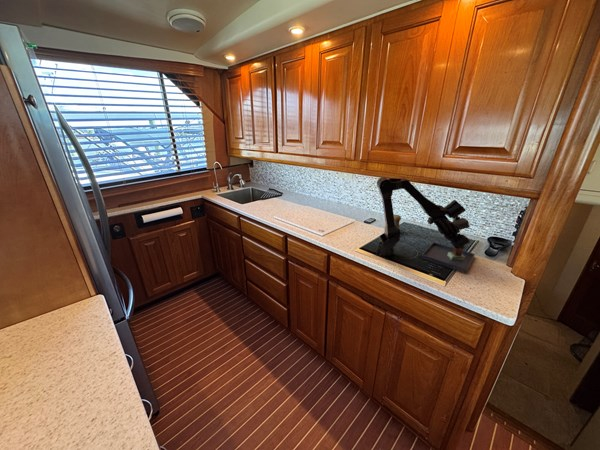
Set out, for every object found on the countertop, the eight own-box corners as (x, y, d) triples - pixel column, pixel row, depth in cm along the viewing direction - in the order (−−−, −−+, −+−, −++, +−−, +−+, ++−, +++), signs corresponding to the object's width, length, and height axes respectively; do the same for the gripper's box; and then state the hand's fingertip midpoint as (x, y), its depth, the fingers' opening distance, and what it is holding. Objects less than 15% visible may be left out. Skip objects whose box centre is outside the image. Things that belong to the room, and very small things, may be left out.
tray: (420, 258, 117) (421, 254, 117) (432, 244, 130) (433, 241, 129) (465, 273, 105) (467, 269, 105) (473, 257, 118) (475, 254, 117)
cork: (390, 229, 149) (393, 212, 145) (400, 231, 146) (403, 215, 141) (387, 232, 145) (389, 215, 140) (397, 235, 141) (400, 218, 137)
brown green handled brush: (451, 259, 115) (456, 241, 111) (447, 255, 119) (452, 237, 115) (464, 260, 115) (470, 242, 111) (459, 256, 118) (465, 238, 114)
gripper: (471, 221, 99) (490, 245, 103) (450, 206, 116) (467, 228, 120) (446, 236, 103) (466, 260, 106) (429, 220, 120) (447, 241, 124)
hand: (462, 246), depth 114 cm, fingers closed on brown green handled brush, 3 cm apart
